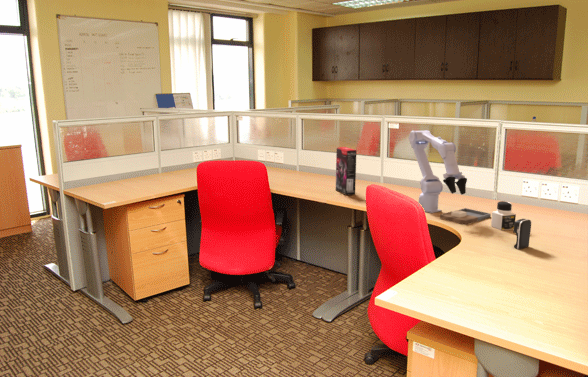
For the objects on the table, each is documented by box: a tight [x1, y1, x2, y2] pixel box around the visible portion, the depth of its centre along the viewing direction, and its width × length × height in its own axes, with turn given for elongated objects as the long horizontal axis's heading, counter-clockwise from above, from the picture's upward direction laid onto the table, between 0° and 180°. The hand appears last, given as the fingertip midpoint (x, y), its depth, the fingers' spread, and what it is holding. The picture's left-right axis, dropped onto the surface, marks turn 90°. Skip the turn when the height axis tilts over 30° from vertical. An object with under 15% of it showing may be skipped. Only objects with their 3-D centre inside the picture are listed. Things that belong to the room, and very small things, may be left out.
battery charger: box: [512, 218, 532, 250], centre depth 185 cm, size 7×4×11 cm, turn 124°
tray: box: [459, 207, 492, 222], centre depth 232 cm, size 14×11×2 cm
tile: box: [450, 209, 467, 218], centre depth 225 cm, size 5×5×2 cm
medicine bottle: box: [490, 200, 516, 231], centre depth 211 cm, size 7×7×12 cm
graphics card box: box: [335, 146, 358, 196], centre depth 284 cm, size 17×7×27 cm, turn 17°
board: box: [439, 211, 479, 226], centre depth 225 cm, size 14×10×2 cm
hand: (458, 193), depth 218 cm, fingers open, 7 cm apart
